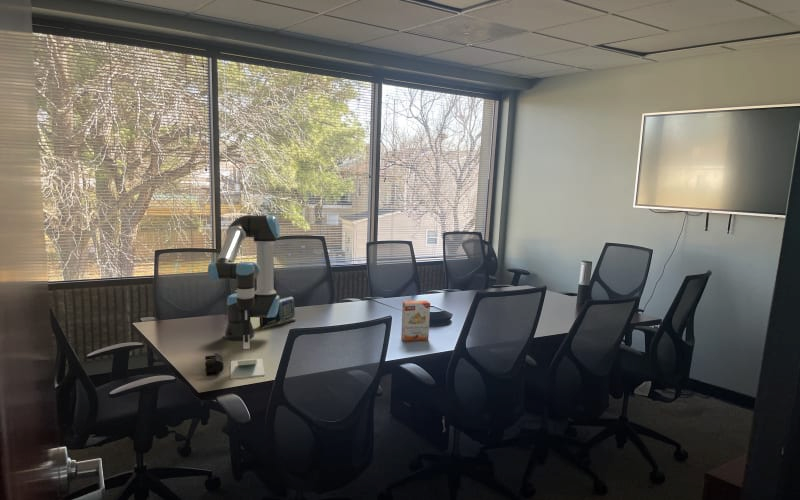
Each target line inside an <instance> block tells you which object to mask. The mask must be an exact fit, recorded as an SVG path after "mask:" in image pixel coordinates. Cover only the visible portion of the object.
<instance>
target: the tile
mask: <svg viewBox="0 0 800 500" xmlns="http://www.w3.org/2000/svg"><path fill="white" fill-rule="evenodd" d="M244 360H245V361H238V366H246V365H256V364H257V360H249V359H244Z"/></svg>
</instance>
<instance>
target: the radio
mask: <svg viewBox="0 0 800 500" xmlns="http://www.w3.org/2000/svg"><path fill="white" fill-rule="evenodd" d="M295 313H296V311H295V301H294V297H293V296H291V295H288V296H286V297H281V298H280V302H279V308H278V312H277V315H276V316H275V317H268V318H267V317H258V318H259V326H258V327H259V328H261V330H262V329H266V328H271V327H274V326H279V325H283V324H288V323H292V322H295V321H296V318H295V315H296V314H295Z"/></svg>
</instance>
